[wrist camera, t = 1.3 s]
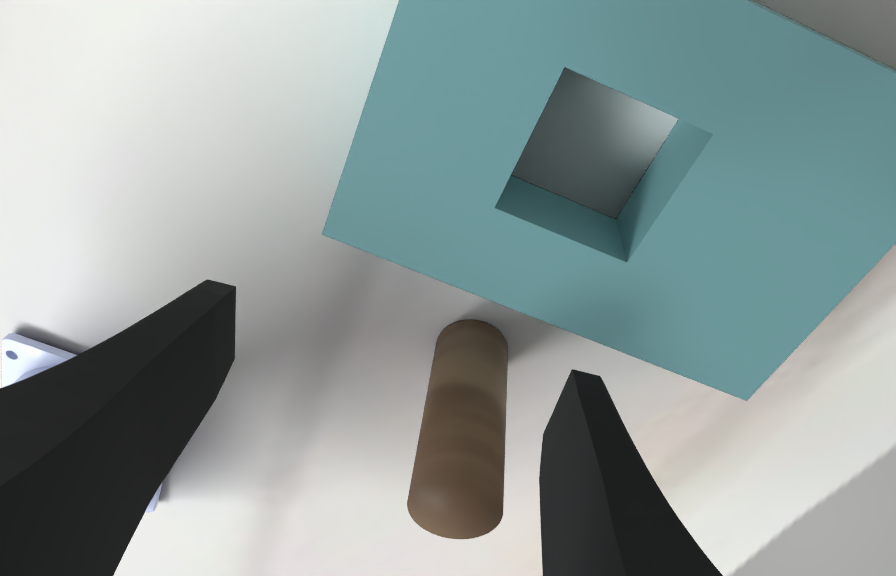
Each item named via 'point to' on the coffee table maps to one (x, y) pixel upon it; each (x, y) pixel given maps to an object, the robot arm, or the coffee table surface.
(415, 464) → the peg
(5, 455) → the robot arm
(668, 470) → the coffee table surface
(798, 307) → the socket board
